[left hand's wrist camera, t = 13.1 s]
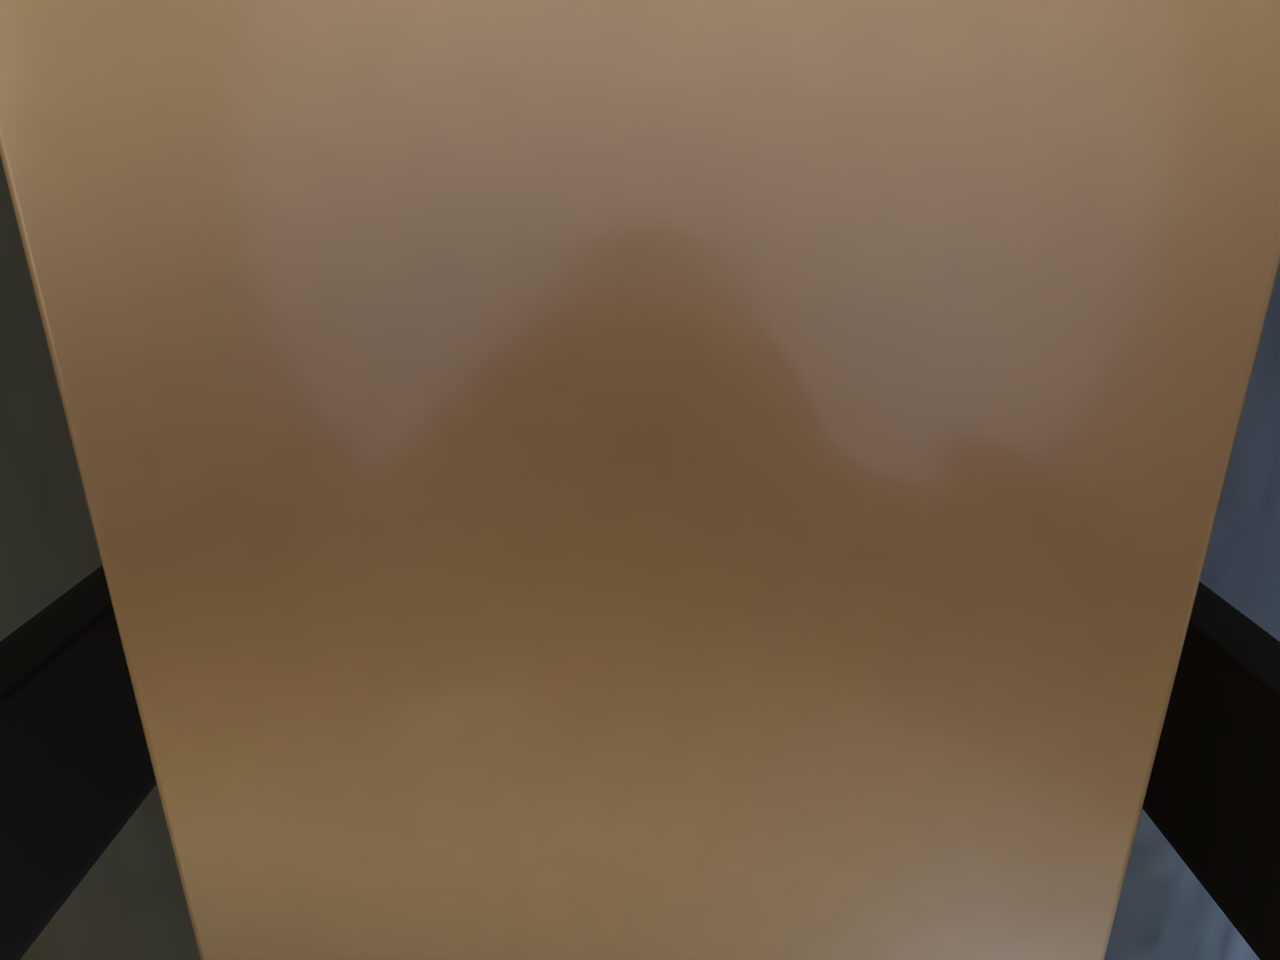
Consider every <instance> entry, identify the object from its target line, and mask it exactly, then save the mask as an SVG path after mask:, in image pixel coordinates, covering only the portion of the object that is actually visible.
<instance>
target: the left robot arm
mask: <svg viewBox="0 0 1280 960" xmlns="http://www.w3.org/2000/svg"><path fill="white" fill-rule="evenodd" d="M156 784H157V782H156V778H155V774H154V770H153V766H152V762H151V758H150V754H149V750H148V746H147V742H146V738H145V734H144V730H143V726H142V722H141V718H140V714H139V710H138V706H137V702H136V698H135V694H134V690H133V686H132V682H131V678H130V674H129V669H128V665H127V661H126V657H125V653H124V649H123V645H122V641H121V637H120V633H119V629H118V625H117V621H116V617H115V613H114V609H113V605H112V601H111V597H110V593H109V589H108V585H107V581H106V577H105V573H104V569H103V565H102V566H101V567H99V568H98V569H97V570H95V571H94V572H93V573H91V574H90V575H89V576H87V577H86V578H85V579H83V580H82V581H81V582H79V583H78V584H77V585H75V586H74V587H73V588H71V589H70V590H69V591H67V592H66V593H65V594H63V595H62V596H61V597H59V598H58V599H57V600H55V601H54V602H53V603H51V604H50V605H49V606H47V607H46V608H45V609H43V610H42V611H41V612H39V613H38V614H37V615H35V616H34V617H33V618H31V619H30V620H29V621H27V622H26V623H25V624H23V625H22V626H21V627H19V628H18V629H17V630H15V631H14V632H13V633H11V634H10V635H9V636H7V637H6V638H5V639H3V640H2V641H1V642H0V960H20V959H21V957H22V956H23V955H24V953H25V952H26V951H27V950H28V948H29V947H30V946H31V944H32V943H33V942H34V941H35V939H36V938H37V937H38V935H39V934H40V933H41V932H42V930H43V929H44V928H45V926H46V925H47V924H48V923H49V921H50V920H51V919H52V917H53V916H54V915H55V914H56V912H57V911H58V910H59V908H60V907H61V906H62V905H63V903H64V902H65V901H66V899H67V898H68V897H69V896H70V894H71V893H72V892H73V890H74V889H75V888H76V887H77V885H78V884H79V883H80V881H81V880H82V879H83V878H84V876H85V875H86V874H87V872H88V871H89V870H90V868H91V867H92V866H93V865H94V863H95V862H96V861H97V859H98V858H99V857H100V856H101V854H102V853H103V852H104V850H105V849H106V848H107V847H108V845H109V844H110V843H111V841H112V840H113V839H114V838H115V836H116V835H117V834H118V832H119V831H120V830H121V829H122V827H123V826H124V825H125V823H126V822H127V821H128V820H129V818H130V817H131V816H132V814H133V813H134V812H135V811H136V809H137V808H138V807H139V805H140V804H141V803H142V802H143V800H144V799H145V798H146V796H147V795H148V794H149V793H150V791H151V790H152V789H153V787H154V786H155V785H156ZM1142 808H1143V809H1144V811H1145V812H1146V813H1147V814H1148V816H1149V817H1150V818H1151V820H1152V821H1153V822H1154V823H1155V825H1156V826H1157V827H1158V829H1159V830H1160V831H1161V832H1162V834H1163V835H1164V836H1165V838H1166V839H1167V840H1168V841H1169V843H1170V844H1171V845H1172V847H1173V848H1174V849H1175V850H1176V852H1177V853H1178V854H1179V856H1180V857H1181V858H1182V859H1183V861H1184V862H1185V863H1186V865H1187V866H1188V867H1189V868H1190V870H1191V871H1192V872H1193V874H1194V875H1195V876H1196V878H1197V879H1198V880H1199V881H1200V883H1201V884H1202V885H1203V887H1204V888H1205V889H1206V890H1207V892H1208V893H1209V894H1210V896H1211V897H1212V898H1213V899H1214V901H1215V902H1216V903H1217V905H1218V906H1219V907H1220V908H1221V910H1222V911H1223V912H1224V914H1225V915H1226V916H1227V917H1228V919H1229V920H1230V921H1231V923H1232V924H1233V925H1234V926H1235V928H1236V929H1237V930H1238V932H1239V933H1240V934H1241V935H1242V937H1243V938H1244V939H1245V941H1246V942H1247V943H1248V944H1249V946H1250V947H1251V948H1252V950H1253V951H1254V952H1255V953H1256V955H1257V956H1258V957H1259V959H1260V960H1280V642H1279V641H1278V640H1277V639H1275V638H1274V637H1273V636H1271V635H1270V634H1269V633H1267V632H1266V631H1265V630H1263V629H1262V628H1261V627H1259V626H1258V625H1257V624H1255V623H1254V622H1253V621H1251V620H1250V619H1249V618H1247V617H1246V616H1245V615H1243V614H1242V613H1241V612H1239V611H1238V610H1237V609H1235V608H1234V607H1233V606H1231V605H1230V604H1229V603H1227V602H1226V601H1225V600H1223V599H1222V598H1221V597H1219V596H1218V595H1217V594H1215V593H1214V592H1213V591H1211V590H1210V589H1209V588H1207V587H1206V586H1205V585H1203V584H1202V583H1201V582H1199V585H1198V589H1197V593H1196V597H1195V601H1194V605H1193V608H1192V612H1191V616H1190V620H1189V624H1188V628H1187V632H1186V636H1185V640H1184V644H1183V648H1182V652H1181V656H1180V660H1179V664H1178V668H1177V672H1176V676H1175V680H1174V684H1173V688H1172V692H1171V696H1170V700H1169V704H1168V707H1167V711H1166V715H1165V719H1164V723H1163V727H1162V731H1161V735H1160V739H1159V743H1158V747H1157V751H1156V755H1155V759H1154V763H1153V767H1152V771H1151V775H1150V779H1149V783H1148V787H1147V791H1146V795H1145V799H1144V803H1143V807H1142Z"/></svg>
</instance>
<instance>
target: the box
mask: <svg viewBox="0 0 1280 960" xmlns="http://www.w3.org/2000/svg"><path fill="white" fill-rule="evenodd" d="M0 155H1V159H2V163H3V167H4V171H5V175H6V179H7V183H8V187H9V191H10V195H11V199H12V203H13V207H14V211H15V215H16V219H17V223H18V227H19V231H20V235H21V239H22V243H23V247H24V251H25V255H26V259H27V263H28V267H29V271H30V276H31V280H32V284H33V288H34V292H35V296H36V300H37V304H38V308H39V312H40V316H41V320H42V324H43V328H44V332H45V336H46V340H47V344H48V348H49V352H50V356H51V360H52V364H53V368H54V372H55V376H56V380H57V384H58V388H59V392H60V396H61V400H62V404H63V408H64V412H65V416H66V420H67V424H68V428H69V432H70V436H71V440H72V444H73V448H74V452H75V456H76V460H77V464H78V468H79V473H80V477H81V481H82V485H83V489H84V493H85V497H86V501H87V505H88V509H89V513H90V517H91V521H92V525H93V529H94V533H95V537H96V541H97V545H98V549H99V553H100V557H101V561H102V565H103V569H104V573H105V577H106V581H107V585H108V589H109V593H110V597H111V601H112V605H113V609H114V613H115V617H116V621H117V625H118V629H119V633H120V637H121V641H122V645H123V649H124V653H125V657H126V661H127V665H128V669H129V674H130V678H131V682H132V686H133V690H134V694H135V698H136V702H137V706H138V710H139V714H140V718H141V722H142V726H143V730H144V734H145V738H146V742H147V746H148V750H149V754H150V758H151V762H152V766H153V770H154V774H155V778H156V782H157V786H158V790H159V794H160V798H161V802H162V806H163V810H164V814H165V818H166V822H167V826H168V830H169V834H170V838H171V842H172V846H173V850H174V854H175V858H176V862H177V866H178V871H179V875H180V879H181V883H182V887H183V891H184V895H185V899H186V903H187V907H188V911H189V915H190V919H191V923H192V927H193V931H194V935H195V939H196V943H197V947H198V951H199V955H200V959H201V960H1104V957H1105V953H1106V949H1107V945H1108V941H1109V937H1110V933H1111V929H1112V925H1113V921H1114V917H1115V913H1116V910H1117V906H1118V902H1119V898H1120V894H1121V890H1122V886H1123V882H1124V878H1125V874H1126V870H1127V866H1128V862H1129V858H1130V854H1131V850H1132V846H1133V842H1134V838H1135V834H1136V830H1137V826H1138V822H1139V818H1140V814H1141V810H1142V807H1143V803H1144V799H1145V795H1146V791H1147V787H1148V783H1149V779H1150V775H1151V771H1152V767H1153V763H1154V759H1155V755H1156V751H1157V747H1158V743H1159V739H1160V735H1161V731H1162V727H1163V723H1164V719H1165V715H1166V711H1167V707H1168V704H1169V700H1170V696H1171V692H1172V688H1173V684H1174V680H1175V676H1176V672H1177V668H1178V664H1179V660H1180V656H1181V652H1182V648H1183V644H1184V640H1185V636H1186V632H1187V628H1188V624H1189V620H1190V616H1191V612H1192V608H1193V605H1194V601H1195V597H1196V593H1197V589H1198V585H1199V581H1200V577H1201V573H1202V569H1203V565H1204V561H1205V557H1206V553H1207V549H1208V545H1209V541H1210V537H1211V533H1212V529H1213V525H1214V521H1215V517H1216V513H1217V509H1218V505H1219V502H1220V498H1221V494H1222V490H1223V486H1224V482H1225V478H1226V474H1227V470H1228V466H1229V462H1230V458H1231V454H1232V450H1233V446H1234V442H1235V438H1236V434H1237V430H1238V426H1239V422H1240V418H1241V414H1242V410H1243V406H1244V402H1245V399H1246V395H1247V391H1248V387H1249V383H1250V379H1251V375H1252V371H1253V367H1254V363H1255V359H1256V355H1257V351H1258V347H1259V343H1260V339H1261V335H1262V331H1263V327H1264V323H1265V319H1266V315H1267V311H1268V307H1269V303H1270V299H1271V296H1272V292H1273V288H1274V284H1275V280H1276V276H1277V272H1278V268H1279V264H1280V0H0Z"/></svg>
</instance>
